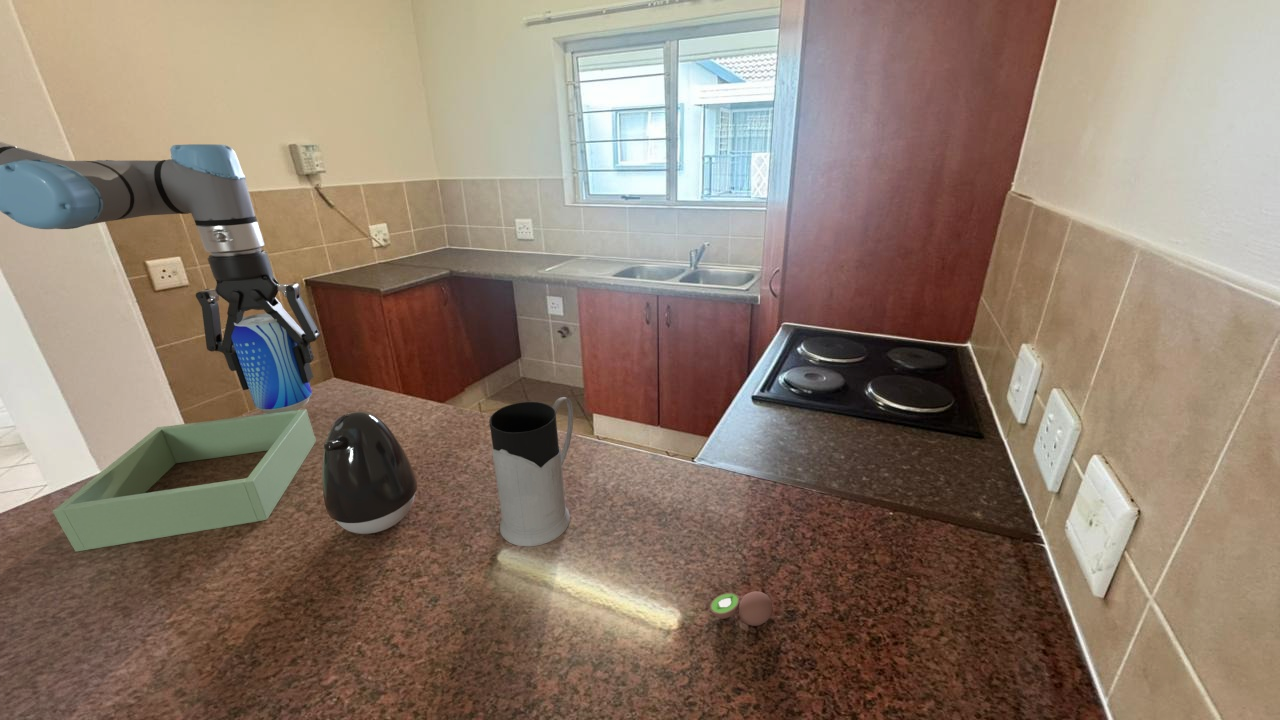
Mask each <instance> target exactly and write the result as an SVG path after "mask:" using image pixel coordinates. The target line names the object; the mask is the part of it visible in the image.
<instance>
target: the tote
mask: <svg viewBox="0 0 1280 720" xmlns="http://www.w3.org/2000/svg"><path fill="white" fill-rule="evenodd" d="M316 442H317V439H316V436H315V433H314V430H313V426H312V422H311V420H310V417H309V413H308V410H307V408H304V409H296V410H293V411H287V412H279V413H271V414H266V413H263V414H256V415H255V414H254V415H248V416H239V417H232V418H222V419H215V420H206V421H199V422H198V421H197V422H190V423H189V422H188V423H183V424H173V425H166V426H157V427H156V428H154V429H153V430H152V431H151V432H150V433H148V434H147V435H146V436H145V437H144V438H142V439H140V440H139V441H138V442H136V444H134V445H133V446H132V447H130V448H129V449H128V450H127V451H126V452H125V453H123V454H122V455H121V456H120V457H118V458H116V460H114V461H113V462H112V463H111V464H109V465H108V466H107V467H106V468H104V469H103V470H102V471H100V472H99V473H98V474H96V475H95V476H94V477H93V478H92V479H91V480H89V481H88V482H87V483H85V484H84V485H83V486H82V487H81V488H79V489H78V490H76V491H75V493H73V494H72V495H70V496H69V497H68V498H67V499H65V501H63V502H62V503H61V504H59V505H58V506H56V508H55V509H53V510H52V514H53V515H54V517H55V518H56V520H57V522H58V524H59V526H60V528H61V529H62V531H63V532H64V534H65V536H66V537H67V540H68V541H69V543H70V545H71V547H72V548H73V550H74V552H76V553H77V552H82V551H89V550H95V549H100V548H106V547H114V546H119V545H124V544H125V545H126V544H131V543H138V542H144V541H149V540H155V539H160V538H161V539H162V538H166V537H172V536H179V535H185V534H190V533H198V532H203V531H209V530H216V529H221V528H227V527H233V526H239V525H245V524H250V523H257V522H263V521H267V520H268V519H269V517H270V516H271V514H272V513H273V511H274V510H275V508H276V507H277V505H278V503H279V501H280V499H281V498H282V497H283V495H284V494H285V492H286V491H287V489H288V487H289V486H290V484H291V483H292V481H293V479H294V478H295V476H296V474H297V473H298V471H299V470H300V468H301V466H303V465H302V464H303V463H304V461H306V458H307V456H308V455H309V453H311V450H312V449H313V447H314V446H315V444H316ZM260 452H261V453H262V452H266V453H265V454H264V456H263V457H262V458H261V459H260V460H259V462H258V463H257V465H256V466H255V467H254V468H253V470H252V471H251V472H250V474H249V475H248V476H247V477H245V478H238V479H232V480H225V481H218V482H212V483H211V482H210V483H204V484H197V485H191V486H185V487H184V486H183V487H177V488H171V489H164V490H157V491H151V492H148V491H150V489H151V488H152V487H153V486H154V485H155V484H156V483H157V482H158V481H159V480H160V479H162V478H163V477H164V475H166V473H168V471H169V470H171V469H172V468H173V467H174V466H175V465H176V464H181V463H189V462H196V461H203V460H209V459H218V458H225V457H232V456H240V455H245V454H253V453H260Z"/></svg>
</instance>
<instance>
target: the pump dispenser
mask: <svg viewBox="0 0 1280 720" xmlns="http://www.w3.org/2000/svg"><path fill="white" fill-rule="evenodd" d="M321 471H322V474H321V475H322V476H321V477H322V479H321V481H322V482H321V484H322V494H323V502H324V507H325V510H326V513H327V515H328V516H329V518H331V519H332V520H334V521H335V522H336V524H338V526H339V527H341V528H342V529H344V530H346V531H348V532H351V533H353V534H358V535H359V534H360V535H369V534H370V535H371V534H375V533H379V532H383V531H386V530H388V529H390V528H392V527H394V526H395V525H397V524H398V523H400V522H401V521H402V520H403V519H404V518H405V517H406V516H407V514H408V513H409V512H410V511H411V508H412V506H413V504H414V501H415V498H416V497H415V496H416V492H417V489H418V480H417V477H416V473H415V470H414V469H413V466H412V464H411V462H410V459H409V457H408V455H407V453H406V451H405V449H404V448H403V446H402V445H401V443H400V442H399V440H398V438H397V437H396V436H395V434H394V433H393V432H392V430H391V429H390V428H389V427H388V426H387V425H386V423H385V422H384V421H382V420H381V419H380V418H378V417H377V416H376V415H374V414H373V413H370V412H367V411H363V410H362V411H361V410H355V411H351V412H348V413H345V414H343V415H341V416H339V417H338V418H337V420H335V421H334V422H333V424H332V425H331V427H330V429H329V432H328V434H327V437H326V441H325V443H324V444H323V457H322V470H321Z"/></svg>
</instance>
